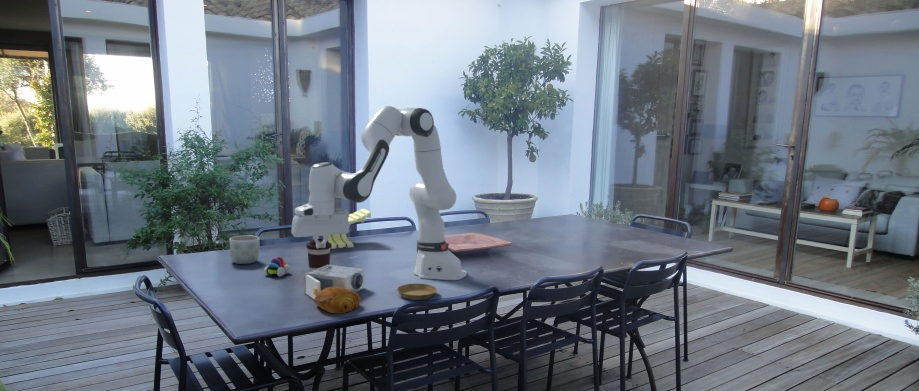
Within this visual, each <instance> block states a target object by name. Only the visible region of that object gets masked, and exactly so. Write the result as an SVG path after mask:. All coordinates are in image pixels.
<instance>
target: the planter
mask: <svg viewBox="0 0 919 391" xmlns="http://www.w3.org/2000/svg"><path fill="white" fill-rule="evenodd" d="M229 252H230V258H231V261H232V262H233V263H234V264H237V265H247V264H248V265H249V264H253V263H255V262H257V261H258V260H259V255H260V236H257V235H238V236H237V235H236V236H232V237H229Z"/></svg>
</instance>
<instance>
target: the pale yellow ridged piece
mask: <svg viewBox="0 0 919 391" xmlns="http://www.w3.org/2000/svg"><path fill="white" fill-rule="evenodd" d="M371 215H372V212H371V211H370V210H368V209H366V208H361V209H358V210H357V211H355V212H353V213H349V218H348V221H349V225H352V224H355V223H359V222H360V223H365V220H366V218H371V217H372V216H371ZM328 242H330V243H331V244H332V247H331V248H330V250H333V249H344V248H343V247H346V248H354V247H355V246H354V243H353V242H351V241H350V240H349V239H348V237H347V234H336V235H329V239H328ZM353 246H354V247H353Z"/></svg>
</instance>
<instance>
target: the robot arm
mask: <svg viewBox="0 0 919 391" xmlns="http://www.w3.org/2000/svg"><path fill="white" fill-rule="evenodd" d="M434 121H435V120H434V117H433V114H432V112H431V111H430V110H428V109H426V108H423V107H417V108H416V107H406V108H400V109H398V108H396V107H394V106H393V105H385V106H383V107H381V108H380V110H379V109H378V111H377V112H376V113H375V114H374V115H373V117H371V119H370V120H369V122H368V123H367V124H366V126H365V127H364V128H363V130H362V133H361V135H360V139H361V144H362V145H363V146H364V148H365V149H366V150H367V151H368V152H369V153H368V156H367V158H366V159H365V161H364V163H363V165H362V167H361V169H360V170H359V171H357V172H355V173H353V172H349V171H344V170H341V169H340V168H338V167H336V166H335V165H334V164H333V163H332V162H327V161H326V162H318V163H314V164H313V165H312V166H311V168H310V171H309V175H308V190H309V191H308V192H309V197H308V202H307V203H305V204H303V205H301V206H297V207H295V208H294V213H295V215H294V216H293V218H292V222H291V229H290V230H291V235H292V236H293V237H295V238H303V237H304V238H307V237H312V239H314V241H315V242H316V248H325V247H326V242H327V240H328V239H329V235H336V234H346V235H347V234H348V233H349V232H350V224H349V221H348V218H349V214H350V212H349V210H348V209H346V208H345V207H337V208H335V198H337V199H338V198H339V199H342V200H348V201H350V202H353V203H356V204H357V203H358V204H359V203H363V202H365V201H366V200H368V199H369V197H370V196H371V194H372V191H373V188H374V184H375V181H376V179H377V177H378V175H379V174H380V172H381V170H382V168H383V165H384V164H385V162H386V160H387V157H388V155H389V152H390V145H391V143H392V141H393V140H394V138H395V137H398V136H399V137H400V136H401V137H411V138H412V140H413V151H414V152H413V153H414V161H415V162H414V163H415V168H416V171H417V173H418V174H419V175H420V177H421V180H422V181H421V180H420V181H417V182H415V183H413V184H412V185H411V187H410V188H409V192H408V193H409V194H408V195H409V198H410V200H411V202H412V203H413V205H414V208H415V209H414V210H415V213H416V218H417V226H418V228H417V229H418V232H417V234H418V235H417V240H416V254H417V255H416V261H415V267H414V271H413V274H414V275H416V276H417V277H419V278H420V279H427V280H429V279H430V280H441V281H442V280H445V281H459V280H462V279H463V278H466V276H467V271H466V270H464V269H463V267H462V262H461V260H460V258H458V257H457V256H456V255H455V254H454V253H452V252H451V251H450V250H449V246H450V242H446V241H445V231H446V230H445V221H444V219H443V217H442V216H441V213H440V211H446V210H451V209H452V208H453V207H454V206H455V204H456V201H457V193H456V191H455V189H454V188H453V187H452V185H451V184H450V183H449V180H448V178H447V175H446V172H445V169H444V165H443V158H442V156H443V155H442V149H441V148H442V147H441V141H440V136H439V132H438V128H437V126H436V125H435V122H434ZM321 236H322V239H323V241H322V242H319V241H318V239H320V237H321Z"/></svg>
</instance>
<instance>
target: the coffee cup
mask: <svg viewBox="0 0 919 391" xmlns="http://www.w3.org/2000/svg"><path fill="white" fill-rule="evenodd" d="M323 239H324V238H319V239H318V241H319V242H322V241H323ZM331 247H332V244H331V243H330V242H328V240H327V242H326V247H325V248H316V242H315V241H314V239H313V238H311V240H310V241H309V242H307V243H306V249H307V260H308V261H307V262H308V267H309V272H311V271H313V270H316V269H318V268H320V267H323V266H325V265H331V264H330V263H331V260H330V259H331V249H330V248H331Z"/></svg>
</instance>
